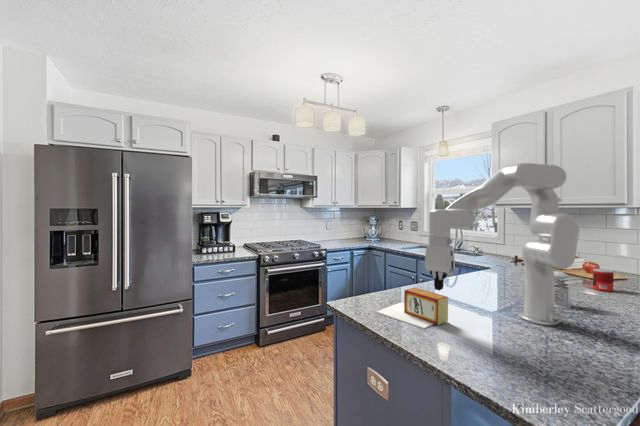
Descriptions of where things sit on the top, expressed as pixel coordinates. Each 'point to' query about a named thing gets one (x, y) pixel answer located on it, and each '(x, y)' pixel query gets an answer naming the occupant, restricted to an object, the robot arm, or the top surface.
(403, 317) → the mat
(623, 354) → the top surface
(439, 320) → the baking soda box
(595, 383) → the top surface
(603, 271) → the canned food
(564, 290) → the french press
